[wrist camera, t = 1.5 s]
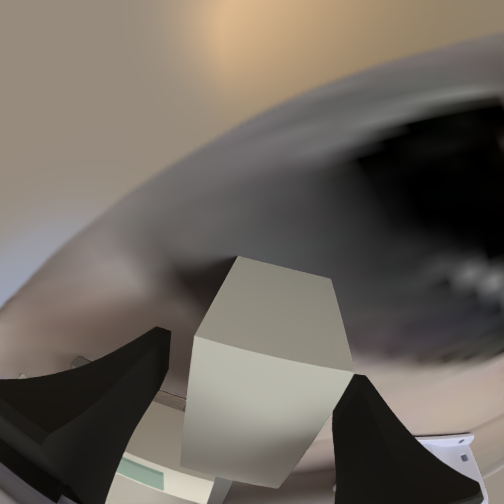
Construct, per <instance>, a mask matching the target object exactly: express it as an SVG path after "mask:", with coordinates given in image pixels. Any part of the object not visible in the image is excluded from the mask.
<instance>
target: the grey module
mask: <svg viewBox="0 0 504 504" xmlns="http://www.w3.org/2000/svg"><path fill="white" fill-rule="evenodd" d="M354 373H355V371H354V366H353V362H352V358H351V354H350V349H349V345H348V341H347V337H346V333H345V329H344V325H343V322H342V318H341V314H340V310H339V307H338V303H337V299H336V296H335V292H334V288H333V285H332V281H331V279H329V278H325V277H321V276H317V275H313V274H309V273H304V272H300V271H296V270H292V269H288V268H284V267H280V266H276V265H272V264H268V263H264V262H260V261H256V260H252V259H248V258H244V257H240V256H238V257H237V259H236V261H235V262H234V264H233V266H232V268H231V270H230V271H229V273H228V275H227V277H226V279H225V281H224V282H223V284H222V286H221V288H220V290H219V291H218V293H217V295H216V297H215V299H214V301H213V302H212V304H211V306H210V308H209V310H208V312H207V313H206V315H205V317H204V319H203V321H202V323H201V324H200V326H199V328H198V330H197V332H196V334H195V335H194V342H193V349H192V357H191V365H190V373H189V381H188V389H187V398H186V407H185V417H184V427H183V437H182V448H181V460H180V466H181V467H184V468H187V469H190V470H194V471H197V472H201V473H204V474H208V475H212V476H216V477H220V478H224V479H228V480H233V481H238V482H242V483H248V484H253V485H259V486H265V487H271V488H279V487H280V486H281V484H282V483H283V482H284V481H285V479H286V478H287V477H288V476H289V474H290V473H291V472H292V470H293V469H294V468H295V466H296V465H297V463H298V462H299V461H300V459H301V458H302V457H303V455H304V454H305V452H306V451H307V450H308V448H309V447H310V445H311V444H312V442H313V441H314V439H315V438H316V436H317V435H318V433H319V432H320V430H321V429H322V427H323V426H324V424H325V422H326V421H327V419H328V418H329V416H330V414H331V413H332V411H333V410H334V408H335V406H336V405H337V403H338V401H339V400H340V398H341V396H342V394H343V393H344V391H345V389H346V387H347V386H348V384H349V382H350V380H351V378H352V377H353V375H354Z"/></svg>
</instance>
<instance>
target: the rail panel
mask: <svg viewBox="0 0 504 504" xmlns="http://www.w3.org/2000/svg"><path fill="white" fill-rule="evenodd" d="M88 363H91V362H90V361H88V360H86V359H84V358H82V357H80V356H78V357H77V358H76V359H75V360H74V361H73V362H72V363H71V369H74V368H77V367H80V366H83V365H85V364H88ZM185 407H186V399H184V398H180V397H177V396H174V395H171V394H168V393H166V392H163V391H160V390H159V391H158V392H157V394H156V396H155V397H154V399H153V401H152V402H151V404H150V406H149V407H148V409H147V411H146V412H145V414H144V415H143V417H142V419H141V420H140V422H139V424H138V425H137V427H136V429H135V430H134V432H133V434H132V436H131V438H130V440H129V443H128V445H127V447H126V449H125V452H124V454H123V456H122V459H121V461H120V464H119V466H118V468H117V471H116V474H115V476H114V479H113V482H112V484H111V487H110V490H109V493H108V496H107V499H106V502H105V504H222V503H223V501H224V499H225V497H226V495H227V493H228V491H229V489H230V487H231V485H232V482H233V480H228V479H224V478H220V477H216V476H212V475H208V474H204V473H201V472H197V471H194V470H190V469H187V468H184V467H181V466H180V460H181V448H182V437H183V427H184V417H185Z"/></svg>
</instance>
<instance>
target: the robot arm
mask: <svg viewBox="0 0 504 504" xmlns="http://www.w3.org/2000/svg"><path fill="white" fill-rule="evenodd" d="M170 340H171V331H169V330H166V329H163V328H160V327H155V328H153V329H151V330H150V331H148V332H147V333H145V334H143V335H142V336H140V337H138V338H137V339H135V340H133V341H132V342H130V343H128V344H127V345H125V346H123V347H121V348H119V349H118V350H116V351H114V352H112V353H110V354H108V355H106V356H104V357H102V358H100V359H98V360H95V361H93V362H91V363H88V364H85V365H83V366H80V367H77V368H74V369H71V370H67V371H63V372H59V373H55V374H51V375H46V376H40V377H33V378H25V379H0V504H105V502H106V499H107V496H108V493H109V490H110V487H111V484H112V482H113V479H114V476H115V474H116V471H117V468H118V466H119V464H120V461H121V459H122V456H123V454H124V452H125V449H126V447H127V445H128V443H129V440H130V438H131V436H132V434H133V432H134V430H135V429H136V427H137V425H138V424H139V422H140V420H141V419H142V417H143V415H144V414H145V412H146V411H147V409H148V407H149V406H150V404H151V402H152V401H153V399H154V397H155V396H156V394H157V392H158V391H159V389H160V387H161V385H162V383H163V380H164V378H165V376H166V373H167V371H168V369H169V353H170ZM332 433H333V444H334V454H335V465H336V484H335V485H334V486H333V491H335V492H336V494H335V504H488V496H487V492H486V489H485V486H484V483H483V480H482V477H481V475H480V472H479V469H478V467H477V464H476V461H475V459H474V456H473V454H472V451H471V449H470V447H469V444H470V443H471V442H472V440H473V439H474V434H473V433H470V434H461V435H449V436H433V437H414V436H413V435H412V434H411V433H410V432H409V431H408V430H407V429H406V427H405V426H404V425H403V424H402V423H401V422H400V420H399V419H398V418H397V417H396V415H395V414H394V413H393V412H392V410H391V409H390V408H389V406H388V405H387V404H386V402H385V401H384V400H383V398H382V397H381V395H380V394H379V393H378V391H377V390H376V389H375V387H374V386H373V384H372V383H371V382H370V380H369V379H368V378H367V377H366V376H365V375H358V374H354V375H353V377H352V378H351V380H350V382H349V384H348V386H347V387H346V389H345V391H344V393H343V394H342V396H341V398H340V400H339V401H338V403H337V405H336V406H335V408H334V410H333V417H332Z"/></svg>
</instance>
